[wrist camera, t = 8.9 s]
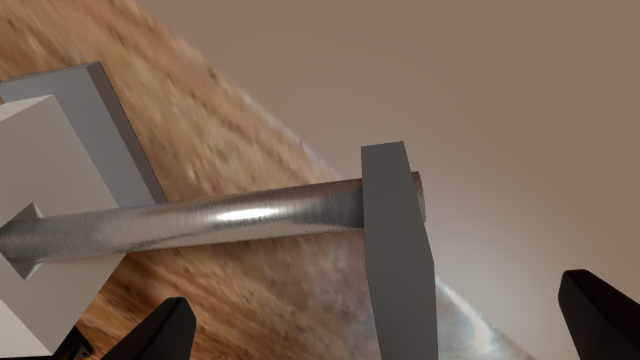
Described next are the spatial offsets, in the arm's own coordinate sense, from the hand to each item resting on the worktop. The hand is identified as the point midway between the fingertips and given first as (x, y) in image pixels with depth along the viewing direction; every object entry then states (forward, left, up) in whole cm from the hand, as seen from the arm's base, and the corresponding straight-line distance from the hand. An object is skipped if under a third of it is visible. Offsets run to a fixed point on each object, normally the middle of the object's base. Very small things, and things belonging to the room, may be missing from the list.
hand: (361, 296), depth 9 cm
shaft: (-2, +7, -7) cm, 10 cm away
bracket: (-2, +16, -13) cm, 21 cm away
